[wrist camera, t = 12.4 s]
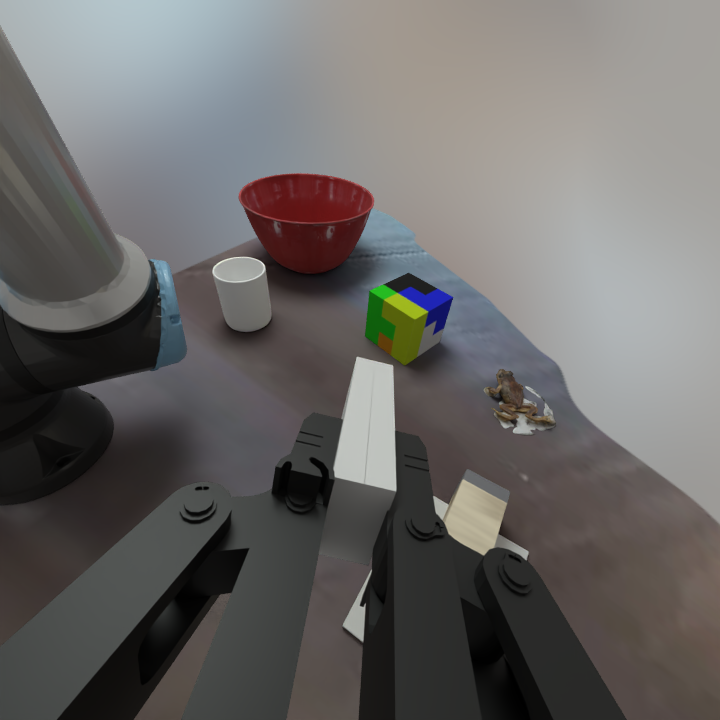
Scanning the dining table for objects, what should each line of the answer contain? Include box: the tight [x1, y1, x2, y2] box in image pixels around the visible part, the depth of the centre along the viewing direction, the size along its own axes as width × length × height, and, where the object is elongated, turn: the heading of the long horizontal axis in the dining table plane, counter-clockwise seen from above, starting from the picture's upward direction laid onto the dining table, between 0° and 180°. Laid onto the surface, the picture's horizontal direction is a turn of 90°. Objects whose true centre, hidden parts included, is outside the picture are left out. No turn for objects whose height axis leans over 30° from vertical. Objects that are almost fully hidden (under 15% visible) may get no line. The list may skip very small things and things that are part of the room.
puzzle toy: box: [365, 273, 453, 365], centre depth 60 cm, size 10×10×10 cm
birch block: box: [442, 469, 510, 555], centre depth 34 cm, size 5×5×20 cm
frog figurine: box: [484, 369, 556, 435], centre depth 53 cm, size 12×12×4 cm
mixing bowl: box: [239, 174, 374, 274], centre depth 78 cm, size 28×28×15 cm
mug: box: [213, 257, 272, 332], centre depth 62 cm, size 9×12×11 cm
